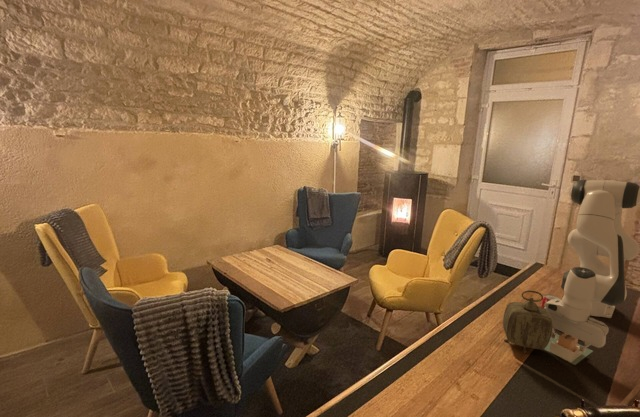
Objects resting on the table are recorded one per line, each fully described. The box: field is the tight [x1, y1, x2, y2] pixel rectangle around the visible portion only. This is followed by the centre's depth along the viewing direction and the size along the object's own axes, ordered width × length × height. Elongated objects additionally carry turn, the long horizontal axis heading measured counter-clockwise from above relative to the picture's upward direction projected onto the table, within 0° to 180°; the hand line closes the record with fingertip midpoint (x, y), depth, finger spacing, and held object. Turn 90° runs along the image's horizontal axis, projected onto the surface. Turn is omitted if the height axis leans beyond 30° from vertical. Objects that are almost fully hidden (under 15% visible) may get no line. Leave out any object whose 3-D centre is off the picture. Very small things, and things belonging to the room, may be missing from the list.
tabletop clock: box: [502, 289, 552, 354], centre depth 125 cm, size 14×9×25 cm, turn 71°
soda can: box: [540, 294, 561, 308], centre depth 147 cm, size 7×7×12 cm
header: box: [549, 341, 582, 363], centre depth 125 cm, size 9×7×4 cm
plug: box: [558, 332, 579, 352], centre depth 124 cm, size 6×4×8 cm, turn 122°
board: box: [543, 333, 594, 366], centre depth 131 cm, size 16×20×1 cm
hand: (567, 344), depth 125 cm, fingers open, 8 cm apart
